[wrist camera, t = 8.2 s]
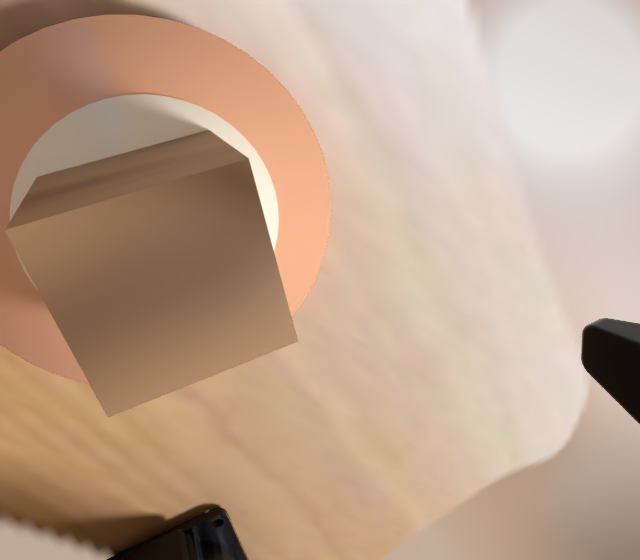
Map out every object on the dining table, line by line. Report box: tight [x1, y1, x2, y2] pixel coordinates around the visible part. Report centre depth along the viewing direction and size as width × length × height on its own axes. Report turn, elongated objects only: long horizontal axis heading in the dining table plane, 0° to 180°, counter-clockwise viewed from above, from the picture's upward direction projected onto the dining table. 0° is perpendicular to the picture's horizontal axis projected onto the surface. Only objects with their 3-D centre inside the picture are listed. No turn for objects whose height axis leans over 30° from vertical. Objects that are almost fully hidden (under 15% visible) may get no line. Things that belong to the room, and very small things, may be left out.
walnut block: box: [5, 130, 298, 417], centre depth 13 cm, size 5×5×5 cm
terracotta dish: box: [0, 14, 331, 383], centre depth 16 cm, size 12×12×1 cm
